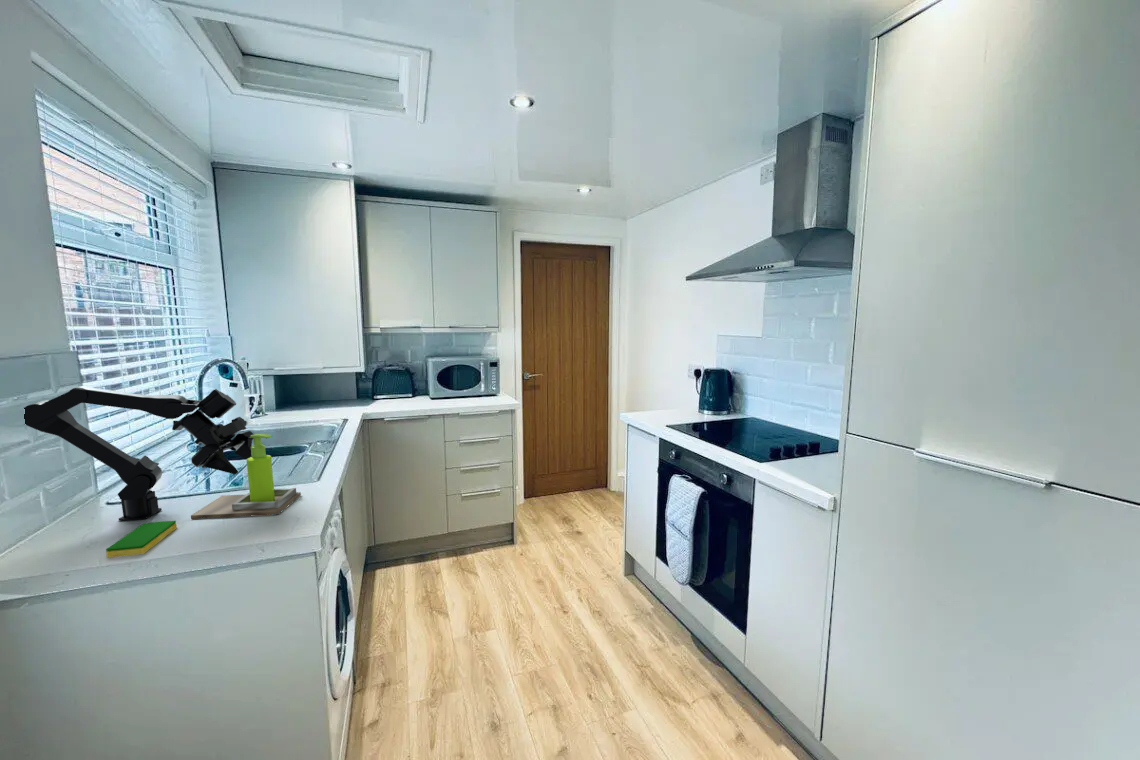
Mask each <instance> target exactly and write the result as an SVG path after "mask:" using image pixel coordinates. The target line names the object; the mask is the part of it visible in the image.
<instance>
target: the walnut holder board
mask: <svg viewBox="0 0 1140 760" xmlns="http://www.w3.org/2000/svg"><path fill="white" fill-rule="evenodd" d="M274 495H275V500H274V501H269V502H250V492H248V493H245V494H227V495H226V494H223V495H220V496H219V497H218V498H215V499H214V500H212V501H211V502H210V503H208V504H206V505H205V506H203V507H202V508H200V509H198V510H197V511H196V512H194V513H192V514H190V519H191V520H194V519H195V520H196V519H200V520H201V519H219V518H222V517H223V518H239V517H238V516H244V517H252V516H251V515H265V516H273V515H272V514H279V513H280V512H281V511H282V510H283V511H285V510H286V509H287V508H288V507H289V506H290V505H292V504H293V503H294V502H295V501H296V500H297V499H298V498H299V497H301V496H300V495H301V491H298V492H297V488H296V487H291V488H290V487H285V488H274ZM294 500H295V501H294ZM293 501H294V502H293ZM292 502H293V503H292ZM289 504H290V505H289ZM288 505H289V506H288ZM287 506H288V507H287ZM286 507H287V508H286ZM285 508H286V509H285ZM284 509H285V510H284ZM283 511H282V512H283ZM282 512H281V513H282ZM281 513H280V514H281ZM280 514H279V515H280Z"/></svg>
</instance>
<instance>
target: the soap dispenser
mask: <svg viewBox="0 0 1140 760" xmlns="http://www.w3.org/2000/svg"><path fill="white" fill-rule="evenodd" d="M253 434H254V435H251V436H250V438H253V445H252V446H251V455H252V457H250V458H248V459H246V469H247V479H248V489H249V492H250V502H269V501H274V500H275V495H274V489H275V488H274V475H273V462H272V455H270V454H266V452H267V451H266V445H265V444H263V443H262V439H269V438H272V437H273V435H272V434H268V433H253ZM249 492H248V493H249Z"/></svg>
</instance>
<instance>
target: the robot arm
mask: <svg viewBox="0 0 1140 760" xmlns="http://www.w3.org/2000/svg"><path fill="white" fill-rule="evenodd" d="M39 401H40V402H39ZM39 401H37V402H34V403H32V404H31V403H30V404H28V405H26V406H25V407H23V408H24V409H25V414H24V419H25V424H26V425H25V424H24V425H25V426H26V427H29V428H31V429H34V430H36V431H39V432H41V433H45V434H49V435H53V436H56V437H59V438H61V439H63V440H64V441H66V442H68V443H70V444H71V445H73V446H74V447H76V448H77V449H79V450H81V451H83V452H84V453H86V454H87V455H89V456H91V457H92V458H95V460H97V461H99V462H100V463H103V465H106V466H107V467H108V468H111V469H112V470H113V471H115V472H116V474H117V475H118V477H119V478H120V479H121V481H122V482H123V483H124V484H125V486H124V487H123V488H122V489H121V490H120V491H119V492H118V493H117V496H118V497H119V498H120V499H119V500H120V501H121V502H120V503H121V509H122V516H121V517H118V521H135V520H136V521H139V520H140V521H141V520H146V519H148V518H149V517H151V516H153V515H155V514H158V512H160V511H162V507H159V502H158V496H156V491H155V490H152V489H153V487H154V486H155V485H157V483H158V481H160V479H161V478H162V476H163V470H162V468H161V467H160V466H159V465H160V463H159V462H155V461H153V460H152V459H151V458H150V457H149V456H147V455H143V456H141V458H138V457H133V456H131V455H129V454H127V453H126V452H125V451H123V450H121V449H120V448H118V447H117V446H115V445H113V444H112V443H110V441H107V440H106V439H103V437H100V436H99V435H97V434H96V433H95V432H93V431H91V430H89V429H88V428H87V427H85V426H83V425H82V424H80V423H79V422H77V420H76V418H75V417H74V416H73V415H72V414H73V413H71V412H70V411H69V410H70V409H73V408H75V407H76V406H78V405H80V404H87V405H96V406H105V407H111V408H112V407H113V408H119V409H126V410H127V409H129V410H136V411H142V412H145V413H147V414H151V415H153V416H156V417H161V418H163V419H169V420H173V421H172V424H173V425H172V427H171V430H172V431H182V430H183V429H185V430H186V431H187V432H188V433H189V434H191V436H193V437H194V438H195V439H196V440H194V443H195V444H197V445H198V444H202V445H203V446H202V447H200V448H199V449H198V451H197V452H196V453H195V454H194V455H193V456H192V457H190V459H191V462H190V463H191V464H192V465H193V466H194V467H196V468H199V467H201V468H207V469H211V470H212V469H213V470H217V471H220V472H224V473H228V474H232V475H237V474H238V473H239V470H238V469H237V468H236V467H235V466H234V465H233V464H232V462H230V461H229V459H227V458H226V457H225V451H227V450H230V451H233V452H234V454H235V455H237V456H239V457H241V458H243V459H245V460H247V459H248V458H250V457H252V455H251V446H253V445H252V444H253V441H254V438H250V436H251V435H254V434H255V433H253V432H252V431H251V430H246V429H247V427H246V426H247V423H248V422H247V420H245V419H244V418H242V417H241V416H238V417H235V418H233V419H231V422H229V423H226V424H221V423H219V424H216V423H215V422H214V421H212V420H211V419H215V418H217V419H221V418H222V417H223V416H224V415H225V414H227V413H228V412H229V411H231V410H232V408H234V407H235V406H236V405H237V403H236V401H235V400H234V399H233V398H232V397H231V396H230V395H228V394H225V393H224V392H223V391H220V390H218V389H217V388H214V389H213V390H212V391H211V392H209V393H208V395H206V397H204V398H203V399H202V400H199V399H187V398H186V397H185V396H183V395H180V394H154V395H152V394H151V395H149V394H148V395H147V394H140V393H133V392H127V391H126V392H124V391H118V390H117V391H116V390H113V389H112V390H111V389H104V388H99V387H98V388H96V387H91V386H88V385H79V386H76V387H74V388H71V389H70V390H69V391H66V392H64V393H63V394H61V395H58V396H57V397H53V398H52V399H43V400H39ZM183 415H184V416H183ZM181 416H183V417H182V418H180V417H181ZM178 418H180V419H179V420H174V419H178ZM238 432H239V433H238ZM236 433H237V434H236Z"/></svg>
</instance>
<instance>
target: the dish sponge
mask: <svg viewBox="0 0 1140 760" xmlns="http://www.w3.org/2000/svg"><path fill="white" fill-rule="evenodd" d="M177 528H178V526H177V520H165V521H164V520H163V521H153V522H152V521H151V522H144V523H142V524H141V525H139V526H137V527H136V528H134V529H133V530H131V531H130V532H129V533H127V534H126V535H124V536H123V537H121V538H120V539H119V540H117V541H116V542H114V543H112V544H111V545H110V546H109V547H107V548H106V549H105V551H106V557H107V558H113V557H115V558H117V557H125V556H126V555H127V556H137V555H143V554H145V553H146V552H147V551H149V550H150V549H151V548H153V547H154V546H156V544H158V543H159V542H161V541H162V540H163V539H164V538H165V537H167V536H168V535H169V534H171V533H172V532H173V531H174V530H176V529H177ZM116 556H117V557H116Z"/></svg>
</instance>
